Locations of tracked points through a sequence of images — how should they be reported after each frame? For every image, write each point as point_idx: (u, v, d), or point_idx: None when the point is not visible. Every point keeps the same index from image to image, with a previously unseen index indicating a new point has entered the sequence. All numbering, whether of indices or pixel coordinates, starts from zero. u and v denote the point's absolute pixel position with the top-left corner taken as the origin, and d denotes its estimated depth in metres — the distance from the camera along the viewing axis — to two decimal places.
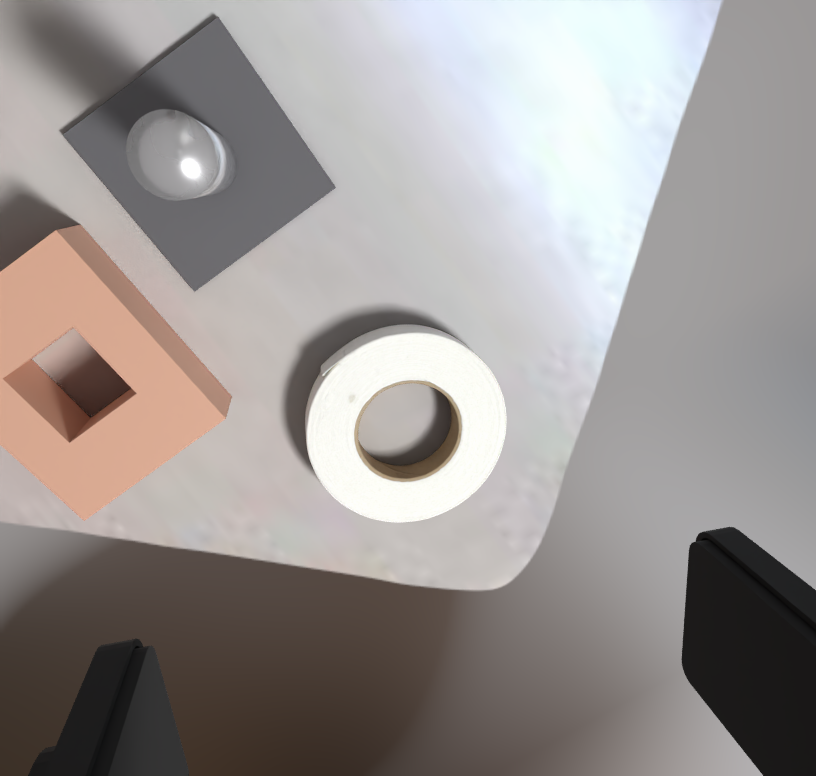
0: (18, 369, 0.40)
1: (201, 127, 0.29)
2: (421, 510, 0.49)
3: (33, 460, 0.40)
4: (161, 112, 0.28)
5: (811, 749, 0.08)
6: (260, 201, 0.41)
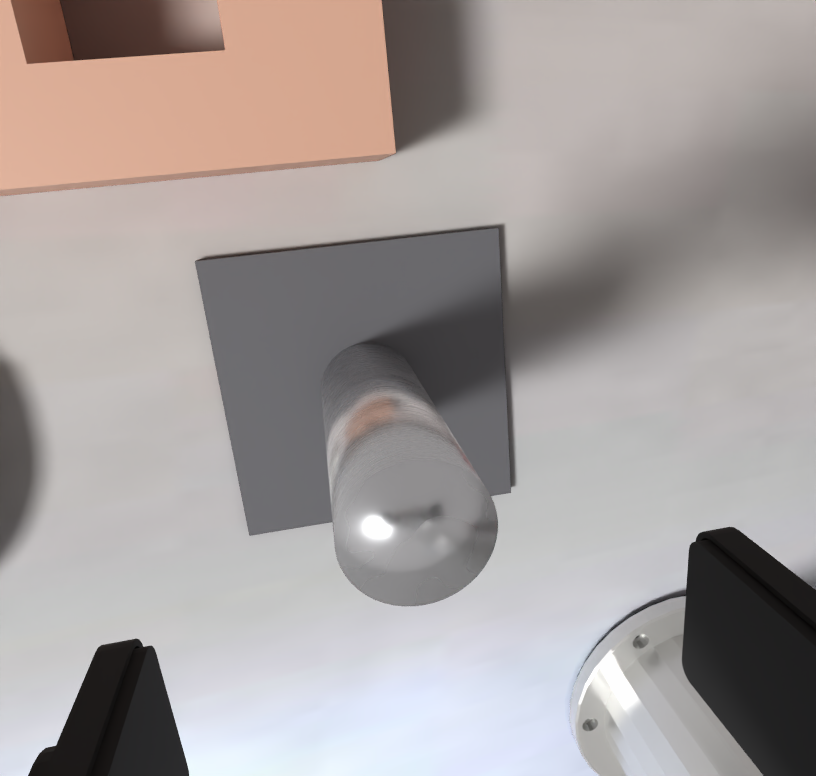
0: None
1: (432, 600, 0.16)
2: None
3: None
4: (486, 554, 0.15)
5: (812, 749, 0.08)
6: (281, 431, 0.26)
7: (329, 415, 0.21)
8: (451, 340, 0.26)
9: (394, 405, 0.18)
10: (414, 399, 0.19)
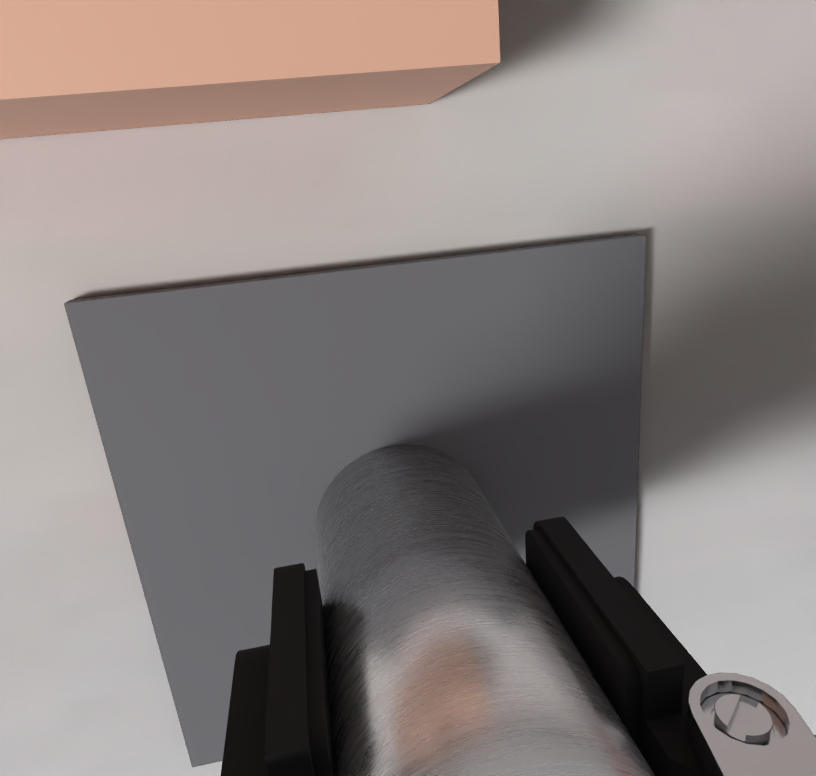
0: None
1: None
2: None
3: None
4: None
5: None
6: (244, 600, 0.15)
7: (337, 671, 0.09)
8: (549, 436, 0.15)
9: (527, 751, 0.06)
10: (560, 691, 0.07)
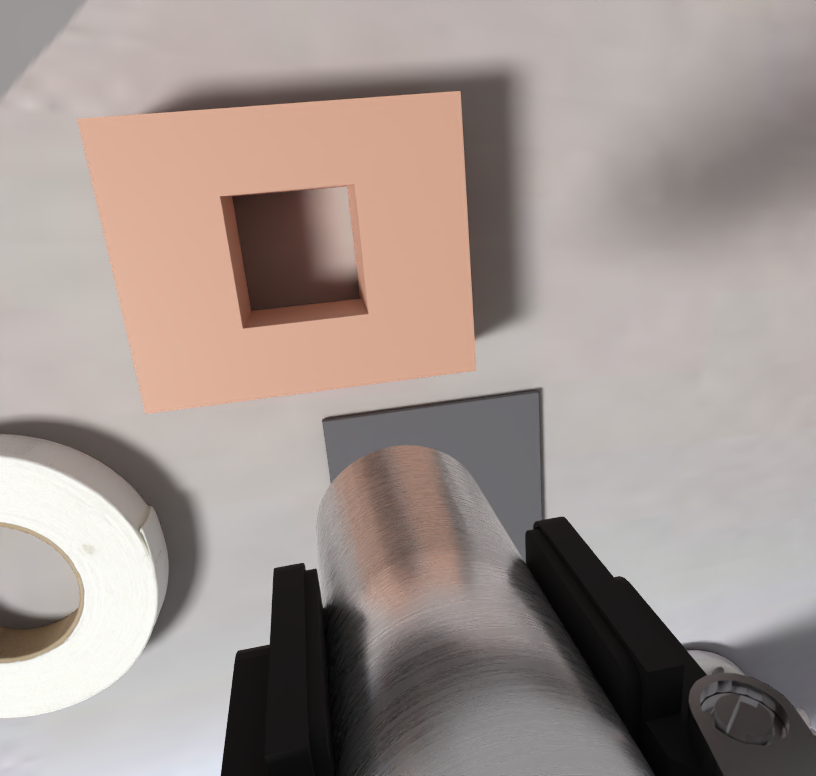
0: (348, 185, 0.28)
1: None
2: None
3: (219, 129, 0.24)
4: None
5: None
6: None
7: (338, 673, 0.09)
8: (502, 470, 0.36)
9: (529, 754, 0.06)
10: (561, 693, 0.07)
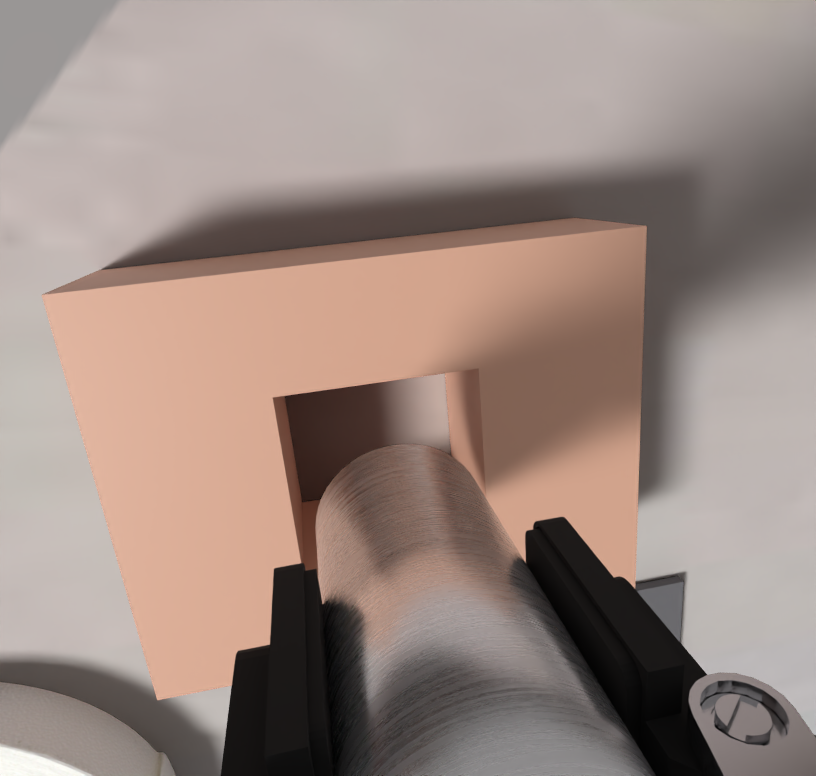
0: None
1: None
2: None
3: (273, 299, 0.15)
4: None
5: None
6: None
7: (337, 672, 0.09)
8: None
9: (528, 753, 0.06)
10: (561, 692, 0.07)
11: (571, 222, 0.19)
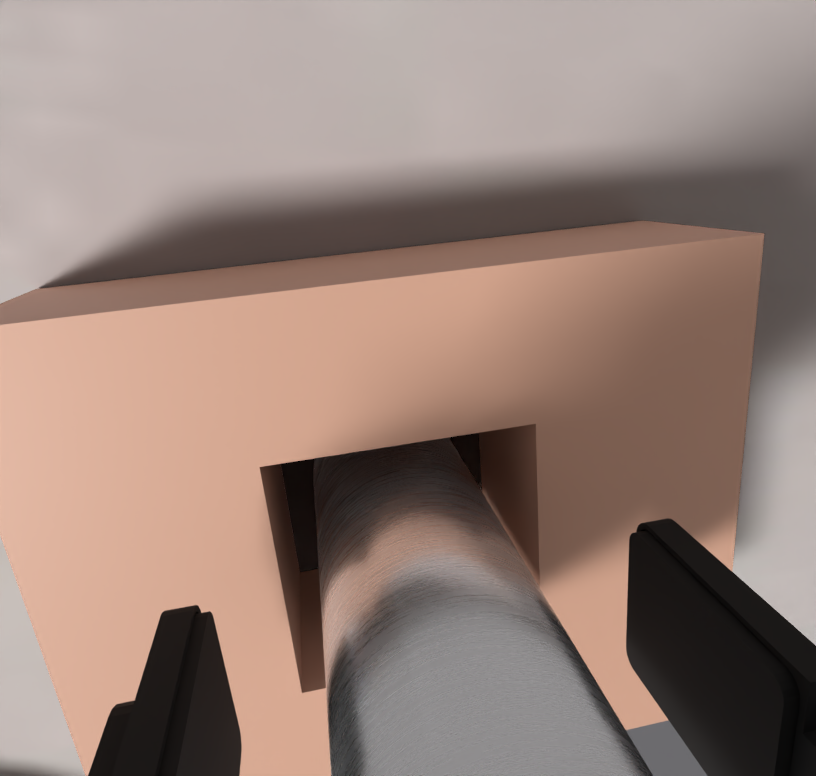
0: None
1: None
2: None
3: (260, 336, 0.11)
4: None
5: (731, 728, 0.09)
6: None
7: (328, 563, 0.12)
8: (687, 763, 0.23)
9: (459, 589, 0.09)
10: (490, 559, 0.10)
11: (645, 227, 0.15)
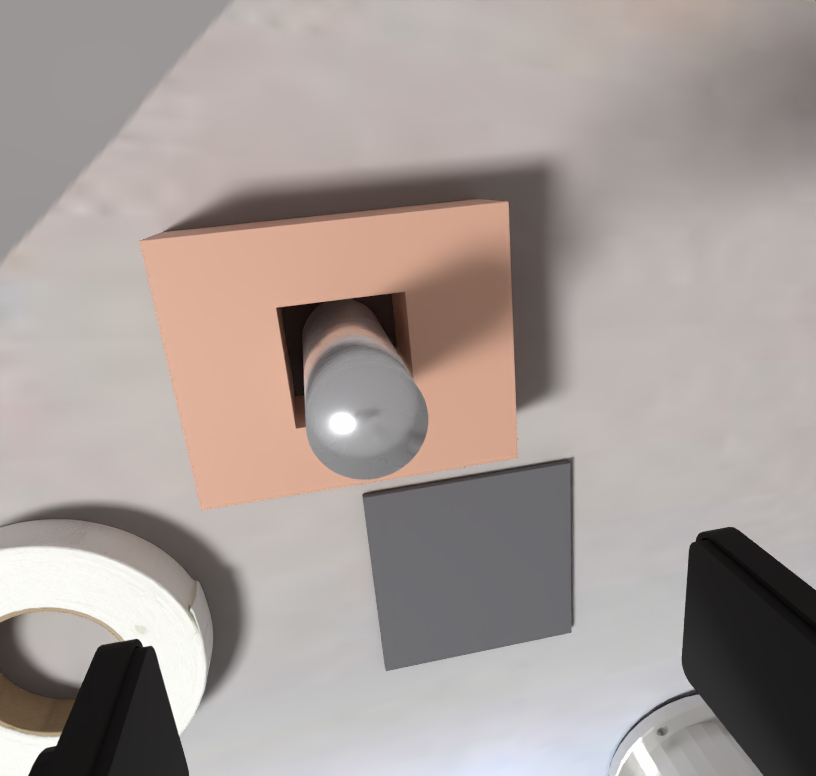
0: None
1: (380, 475, 0.21)
2: None
3: (276, 245, 0.25)
4: (420, 440, 0.21)
5: (813, 749, 0.08)
6: (413, 601, 0.37)
7: (306, 350, 0.26)
8: (534, 536, 0.37)
9: (355, 336, 0.23)
10: (372, 333, 0.24)
11: (471, 201, 0.29)
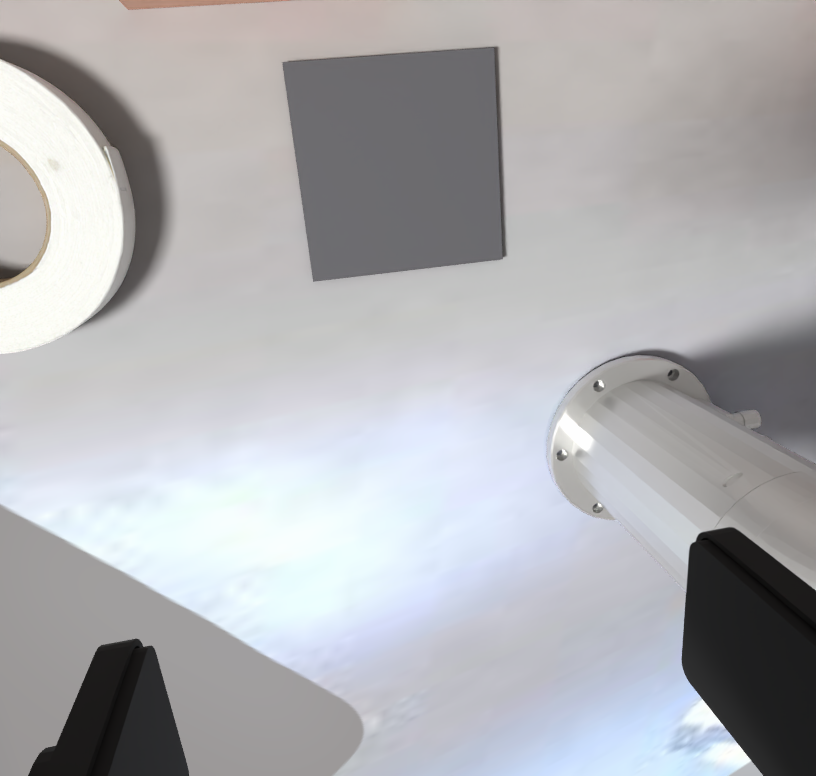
0: None
1: None
2: None
3: None
4: None
5: (812, 749, 0.08)
6: (338, 198, 0.37)
7: None
8: (460, 133, 0.37)
9: None
10: None
11: None
